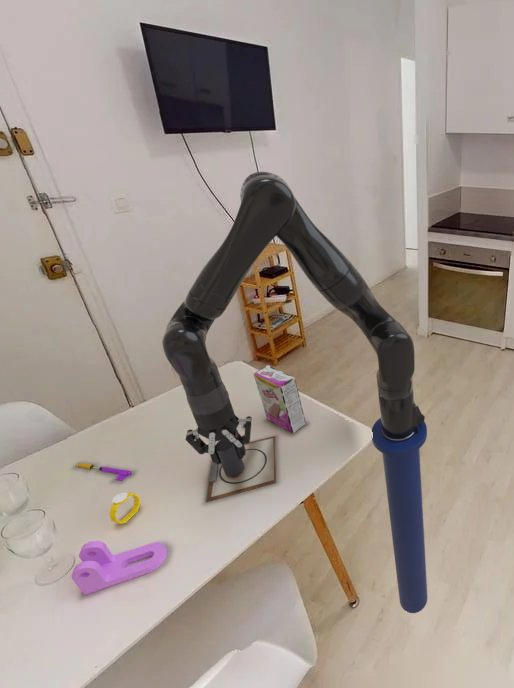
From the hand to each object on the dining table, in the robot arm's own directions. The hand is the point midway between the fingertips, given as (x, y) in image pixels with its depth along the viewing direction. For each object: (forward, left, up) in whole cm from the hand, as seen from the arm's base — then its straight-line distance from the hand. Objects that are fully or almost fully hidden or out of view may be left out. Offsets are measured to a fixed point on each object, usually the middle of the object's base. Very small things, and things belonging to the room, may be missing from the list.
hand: (230, 458), depth 96 cm
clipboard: (-2, -2, -5) cm, 6 cm away
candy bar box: (-12, -15, -5) cm, 20 cm away
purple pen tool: (+32, -13, -6) cm, 35 cm away
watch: (+21, +4, -5) cm, 23 cm away
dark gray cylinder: (0, 0, -5) cm, 5 cm away
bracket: (+18, +17, -5) cm, 26 cm away
